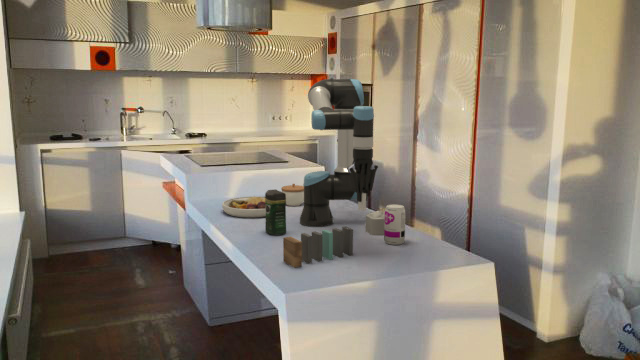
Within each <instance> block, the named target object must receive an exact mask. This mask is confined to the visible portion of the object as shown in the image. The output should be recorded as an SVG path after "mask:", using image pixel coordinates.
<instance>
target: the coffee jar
mask: <svg viewBox="0 0 640 360" xmlns="http://www.w3.org/2000/svg"><path fill="white" fill-rule="evenodd" d="M264 195H265V196H264V197H265V203H266V217H265V229H264V231H265V232H266V233H267V234H269V235H271V236H281V235H284V234H286V233H287V216H286V215H287V211H286V209H287V207H286V206H287V204H286V194H285V193H283V192H282V191H280V190H278V189H267V191H266V192H265V193H264Z"/></svg>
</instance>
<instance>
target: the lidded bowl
mask: <svg viewBox="0 0 640 360" xmlns="http://www.w3.org/2000/svg"><path fill="white" fill-rule="evenodd" d="M280 188H281V189H280V190H281V192H283V193H285V194H286V206H289V207H299V206H301V204H302V203H304V186H303V185H298V184H297V185H296V183H292V185H291V184H290V185H289V184H288V185H284V186H282V187H280Z"/></svg>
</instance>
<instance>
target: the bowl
mask: <svg viewBox="0 0 640 360" xmlns="http://www.w3.org/2000/svg"><path fill="white" fill-rule="evenodd" d="M221 205H222V210H223V211H224V213H226V214H227V215H229V216H232V217H234V218H235V217H236V218H243V219H245V218H246V219H259V218H266V203H265V196H255V195H254V196H243V197H242V196H241V197H240V196H239V197H236V198H235V197H234V198H230V199H226V200H223V202H222V203H221Z"/></svg>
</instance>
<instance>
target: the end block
mask: <svg viewBox="0 0 640 360" xmlns="http://www.w3.org/2000/svg"><path fill="white" fill-rule="evenodd" d="M282 241H283V244H282V246H283V248H282V249H283V262H284V263H285V264H287V265H288V266H290V267H292V268H300V267H303V264H302V263H303V261H302V242H301V240H299V239H297V238H295V237H293V236H286V237H283V240H282Z"/></svg>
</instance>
